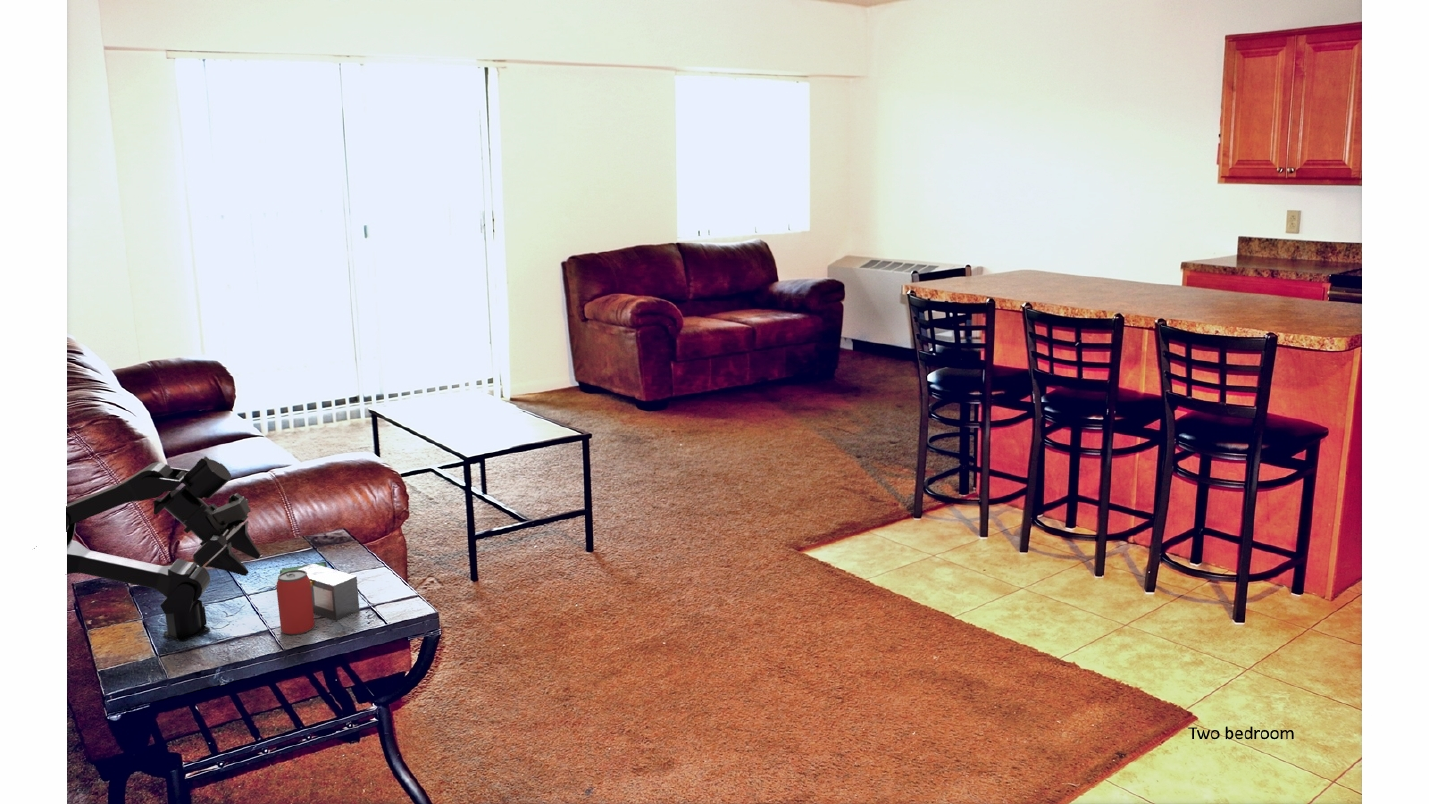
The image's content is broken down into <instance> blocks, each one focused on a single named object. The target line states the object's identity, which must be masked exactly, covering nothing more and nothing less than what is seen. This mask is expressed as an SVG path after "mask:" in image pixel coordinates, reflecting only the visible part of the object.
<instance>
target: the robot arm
mask: <svg viewBox="0 0 1429 804" xmlns="http://www.w3.org/2000/svg"><path fill="white" fill-rule="evenodd" d="M231 479H232V475H231V473H230V471H229V470H228V468H227V467H226V466H225V465H224V464H223V463H221V462H218V461H216V460H214V459H210V458H208V456H207V455H204V456H202V457H201V458H200V459H199V460H198V461H197V462H196V464H195V465H194V466H193V467H192V468H191V469H185V468H180V467H179V468H178V467H171V466H170V465H168V464H167V463H164V462H162V461H157V462H153V463H150V464H149V465H147V466H145V467H144V468H142V469H141V470H139V471H138V472H136V473H135V474H133V475H132V476H130V477H128V478H127V479H125V480H123V481H122V482H119V483H117V484H114V485H112V486H109V487H107V488H104V489H102V490H100V491H97V492H94V493H92V494H90V495H86V496H85V497H82V498H80V499H77V500H74V501H72V502H69V503H66V504H67V506H66V532H67V574H66V575H73V574H83V575H86V576H92V577H97V578H102V579H106V580H107V579H108V580H111V581H116V582H120V583H125V584H131V585H134V586H139V587H145V588H149V589H153V590H156V591H157V592H159V593H160V594H161V595H163V596H164V597H165V599H163V601H162V602H161V604H160V605H159V606H160V608H161V610H162V612H163V614H164V615H165V621H166V622H165V624H166V630H165V631H163V636H165V637H168V638H171V639H173V640H175V641H178V642H186V641H187V640H190V639H192V638H194V637H196V636H199V635H202V634H204V633H207V632H209V631H210V630H211V628H210V626H207V624H208V623H207V613H206V607H205V606H204V605H203V601H202V600H201V599H200V598H201V596H203V594H204V592H205V591H206V590H207V588H208V586H209V585H210V583H211V576H210V573H209V571H208V570H207V568H212V569H216V570H217V569H218V570H222V571H226V572H228V573H229V572H230V573H233V574H236V575H240V576H247V575H248V574H250V571H249V569H248V568H247V567H246V566H245V565H244V563H242V561H241V560H240V559H239V558H238V557H237V556H236V555H235V554H234V553H233V550H232V549H235V550H237V551H239V552H241V553H242V554H244V555H247V556H249V557H251V558H254V559H256V560H258V559H259V558H260V557H261V556H262V554H261V552H260V551H259V549H258V547H257V546H256V544H255V543H254V540H252V537H251V536H250V533H248V530H249V529H248V526H249V520H247V519H248V518H249V516H248V514H249V513H251V511H252V510H251V508H250V507H249V505H248V503H249V499H248V498H245V496H242V495H240V493H238V492H237V493H233V494H231V495H230V496H229V497H228V502H226V503H225V504H224V505H222V506H220V507H218V506H217V505H216V504H215V503H210V504H209V505H208V504H207V503H206V502H205V501H204V500H203V499H211V498H212V497H213V496H214V495H215V494H216V493H217V492H218V491H220V490H221V488H222V487H224V486H225V485H226V484H227V483H228V482H230V481H231ZM182 484H183V487H182V488H180V489H177V488H179V487H180V485H182ZM167 492H168V493H167ZM164 493H166V494H165V495H164V496H163V497H161V496H162V495H163V494H164ZM152 499H154V500H153V501H152V503H153V515H158V514H159V513H161V511H163V510H164V509H165V510H166V511H167V512H168V513H169V514H171V515H172V516H173V517H174V518H175V519H176V520H177V521H179V522H180V523H181V524H182V525H183V526H184V527H185V528H183V531H184V532H185V533H186V534H188V533H190V532H191V533H192V534H194V535H195V537H197V538H198V539H199V540H201V542H200V543H199V545H200V547H199V548H198V549H197V550H196V551H195V552H194V554H193V555H192V556H193V558H192V559H193V562H192V561H191V562H190V561H188V560H184V559H182V558H181V559H180V558H177V559H175V561H174V562H173V563H172V564H171V565H158V564H155V563H150V562H145V561H141V560H136V559H130V558H128V557H127V558H126V557H123V556H122V557H121V556H117V555H114V554H113V555H112V554H107V553H103V552H98V551H94V550H90V549H88V548H87V547H85V546H84V545H83V544H82V543H80V542H79V541H77V540H73V538H74V537H75V533H76V526H77V523H79V522H83V521H85V520H87V519H90V518H92V517H94V516H97V515H99V514H102V513H103V512H106V511H110V510H111V509H114V508H117V507H118V506H121V505H124V504H127V503H128V504H129V503H132V502H143V501H146V500H147V501H148V500H152ZM33 549H35V547H34V548H33Z"/></svg>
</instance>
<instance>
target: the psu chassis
mask: <svg viewBox="0 0 1429 804" xmlns="http://www.w3.org/2000/svg"><path fill="white" fill-rule="evenodd" d="M309 564H310V565H308V566H305V567H303V568H300V569H298V570H304V571H306V572H307V576H308V577H309V579H310V583H311V592H312V602H313V612H314V615H315V616H319V617H322V618H326V619H328V620H332V621H335V622H339V621H342V620H343V619H345V618H347V617H350V616H352V615H354V614H357V613H359V612H360V611H361V610H360V600H359V599H360V598H359V589H358V578H357V575H353V574H350V573H347V572H343V571H340V570H336V569H333V568H330V567H328V566H327V567H323V566H320V565H317V564H314V563H309Z"/></svg>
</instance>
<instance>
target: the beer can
mask: <svg viewBox="0 0 1429 804" xmlns="http://www.w3.org/2000/svg"><path fill="white" fill-rule="evenodd" d="M275 586H276V587H275V588H276V597H277V605H278V606H277V607H278V613H279V614H278V615H279V623H280V624H279V626H280V631H281V632H282V633H284V634H286V635H289V636H293V635H302V634H305V633H307V632H309V631H311V630H312V629H313V628H314V626H315V624H316V622H315V614H314V612H313V602H312V592H311V583H310V579H309V577H308V576H307V572H306V571H304V570H290V571H286V572H283V573H281V574H280V573H279V574H278V576H277V581H276V585H275Z"/></svg>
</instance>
